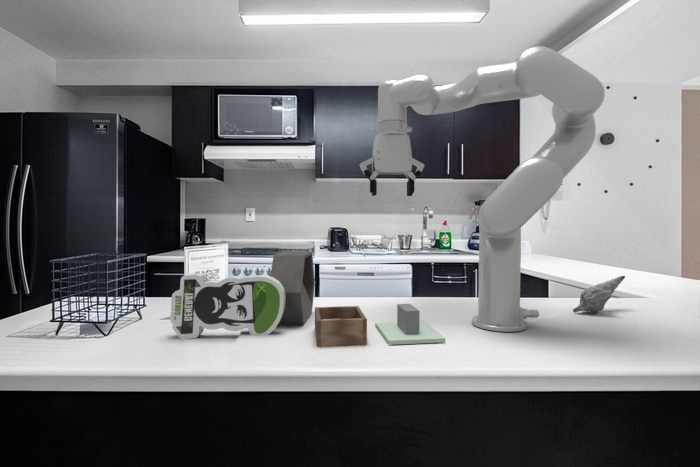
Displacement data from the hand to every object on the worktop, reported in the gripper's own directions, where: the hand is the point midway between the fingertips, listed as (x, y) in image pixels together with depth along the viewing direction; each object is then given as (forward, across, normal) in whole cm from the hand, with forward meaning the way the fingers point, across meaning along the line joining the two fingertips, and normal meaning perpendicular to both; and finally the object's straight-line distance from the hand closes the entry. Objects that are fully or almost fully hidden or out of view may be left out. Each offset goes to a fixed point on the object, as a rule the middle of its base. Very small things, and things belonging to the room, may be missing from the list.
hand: (392, 195), depth 103 cm
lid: (+33, +1, +19) cm, 38 cm away
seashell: (+32, -59, +4) cm, 67 cm away
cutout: (+33, +40, +13) cm, 53 cm away
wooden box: (+32, +16, +19) cm, 41 cm away
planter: (+32, +26, +2) cm, 42 cm away
